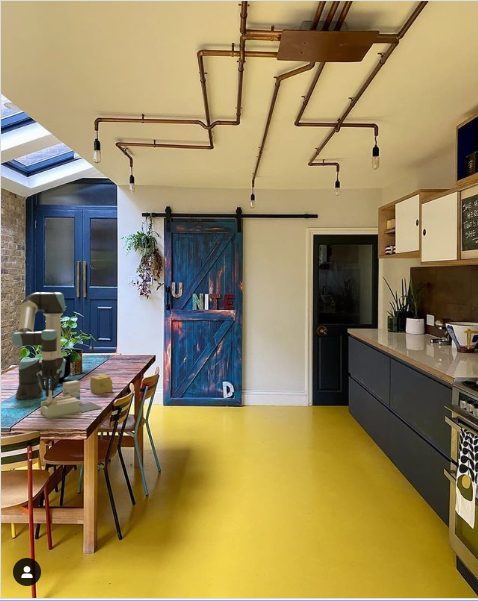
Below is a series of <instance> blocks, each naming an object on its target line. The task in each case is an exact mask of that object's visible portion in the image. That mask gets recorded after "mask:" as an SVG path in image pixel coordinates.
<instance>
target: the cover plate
mask: <svg viewBox="0 0 478 601" xmlns="http://www.w3.org/2000/svg"><path fill="white" fill-rule="evenodd" d="M54 399H55V398H53V397H52V403H48V402H47V405H48V406H51V405H56V404H61V403H66V402H71V401H76V400H78V399H76V398H74V397H73V398H68V399H63V400H57V401H56V400H54ZM79 404H82V400H81V399H80V400H79Z"/></svg>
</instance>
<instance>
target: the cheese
mask: <svg viewBox="0 0 478 601" xmlns="http://www.w3.org/2000/svg"><path fill="white" fill-rule="evenodd" d="M89 384H90V385H89V386H90V391H91V392H92V393H95V394H97V395H101V394H104V393H112V392H113V389H114V387H113V380H112V378H111V376H110V375H108V374H100V375H96V376H91V377H90V382H89Z"/></svg>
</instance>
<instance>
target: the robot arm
mask: <svg viewBox="0 0 478 601" xmlns="http://www.w3.org/2000/svg"><path fill="white" fill-rule="evenodd" d="M64 297H65V296H64V293H62V292H57V291H55V292H54V291H53V292H47V291H45V292H42V291H41V292H32V293H30V294H29V295H27V296H25V298H24V299H22V301H21V303H20V307H19V310H20V317H19V323H18V330H17V332H13V333H12V337H11V338H12V339H11V340H12V345H13V347H31V346H33V347H34V346H41V359H40V357H31V358H26V359H23V360H20V362H19V363H18V386H17V390H16V392H15V399H17V400H22V401H23V400H24V401H25V400H33V399H39V398H40V397H42V396H43V395H44V393H45V398H47V399H46V400H47V402H48V403H52V398H53V397H54V395H55V392H54V391H55V390H56V389H57V388H58V386H59V383H60V382H59V381H60V378H62V377H64V375H65V369H66V362H67V360H66V358H64V355H63V354H62V352H61V350H62V349H61V348H62V347H61V346H62V344H61V342H62V340H61V339H62V334H61V329H62V328H61V325H62V324H61V322H62V321H61V320H62V318H61V317H62V316H63V314H64V312H65V311H66V303H65V302H66V301H65V298H64ZM37 312H42V314H43V316H45V329H44V330H42V331H34V329H35V328H34V327H35V318H36V313H37ZM43 391H45V392H43Z"/></svg>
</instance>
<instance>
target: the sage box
mask: <svg viewBox="0 0 478 601" xmlns="http://www.w3.org/2000/svg"><path fill="white" fill-rule="evenodd" d="M68 398H71V396H67V397H63V396H62V397H57V398H53V399H54V400H56V401H57V400H63V399H68ZM79 404H80V403H79V400H76V401H71V402H66V403H61V404H56V405H51V406H48V405H47V399H45V400H43V401H40V414H41V415H42V416H44V417H45V418H47V419H49V420H52V419H56V418H61V417H66V416H70V415H71V416H72V415H74V414H75V415H76V414H79V413H80V411H79Z"/></svg>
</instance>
